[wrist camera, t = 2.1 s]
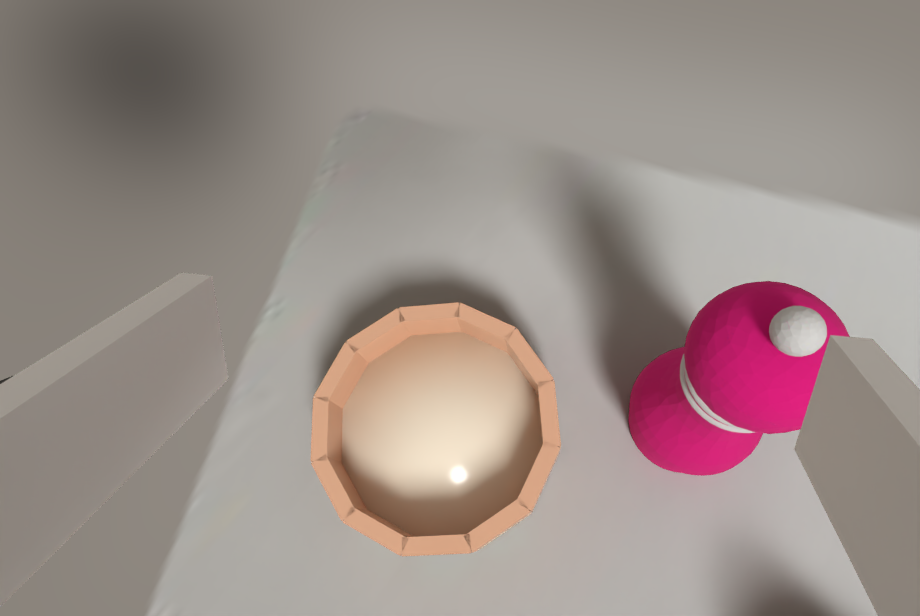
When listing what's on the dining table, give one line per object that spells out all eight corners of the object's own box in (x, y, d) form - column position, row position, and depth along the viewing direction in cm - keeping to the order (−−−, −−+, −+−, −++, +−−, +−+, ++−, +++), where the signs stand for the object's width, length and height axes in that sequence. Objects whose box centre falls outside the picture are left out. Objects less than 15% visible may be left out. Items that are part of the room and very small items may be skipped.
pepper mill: (762, 424, 39) (974, 322, 20) (685, 506, 37) (834, 481, 19) (671, 345, 41) (785, 189, 22) (596, 421, 40) (650, 323, 21)
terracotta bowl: (603, 464, 39) (610, 457, 35) (403, 603, 37) (388, 610, 34) (474, 285, 44) (468, 262, 40) (294, 400, 43) (271, 388, 39)
